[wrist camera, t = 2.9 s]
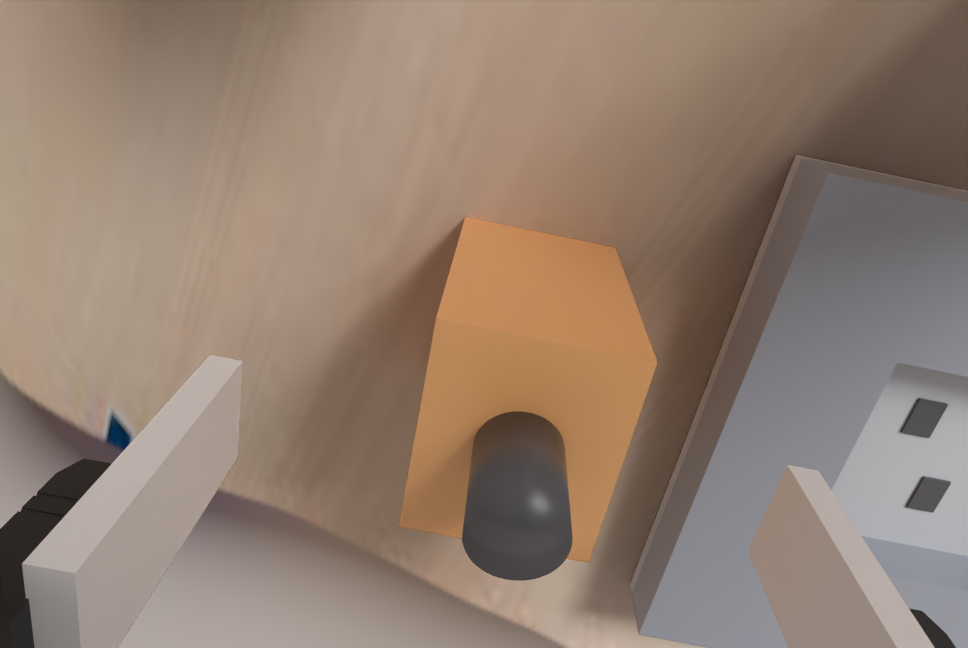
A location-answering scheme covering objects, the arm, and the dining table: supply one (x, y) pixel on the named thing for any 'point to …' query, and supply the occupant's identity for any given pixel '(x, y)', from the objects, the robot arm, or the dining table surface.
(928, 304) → the socket plate
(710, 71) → the dining table surface
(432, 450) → the plug
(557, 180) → the dining table surface
